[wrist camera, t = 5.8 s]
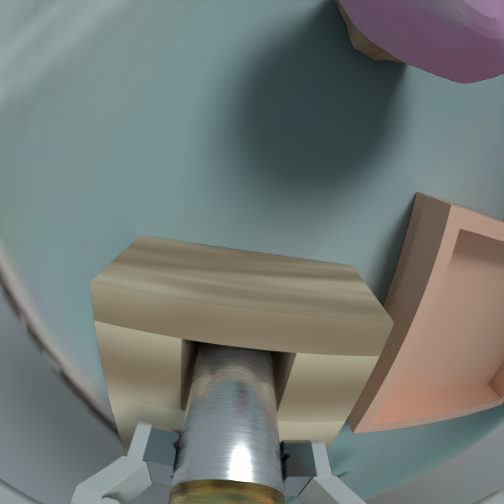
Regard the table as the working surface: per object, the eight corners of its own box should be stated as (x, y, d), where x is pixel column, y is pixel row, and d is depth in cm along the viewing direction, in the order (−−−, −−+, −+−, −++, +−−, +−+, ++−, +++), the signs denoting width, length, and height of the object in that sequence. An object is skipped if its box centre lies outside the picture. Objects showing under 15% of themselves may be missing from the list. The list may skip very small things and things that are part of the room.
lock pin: (210, 283, 17) (158, 516, 5) (272, 291, 17) (303, 526, 5) (205, 333, 18) (168, 541, 6) (261, 341, 18) (273, 549, 6)
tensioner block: (140, 235, 16) (73, 299, 9) (351, 265, 16) (408, 342, 10) (147, 404, 20) (124, 479, 14) (295, 422, 21) (306, 499, 14)
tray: (416, 191, 15) (451, 204, 12) (551, 241, 16) (575, 255, 13) (342, 399, 20) (352, 433, 17) (486, 384, 21) (501, 404, 18)
